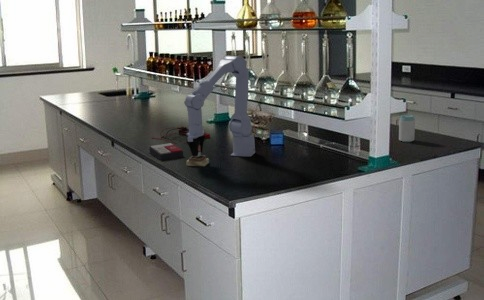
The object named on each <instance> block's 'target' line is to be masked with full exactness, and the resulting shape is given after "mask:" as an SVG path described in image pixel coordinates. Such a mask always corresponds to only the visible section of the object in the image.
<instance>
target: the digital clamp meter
mask: <svg viewBox="0 0 484 300" xmlns="http://www.w3.org/2000/svg"><path fill="white" fill-rule="evenodd" d="M168 129H170V127H166V128H164V129H162V130H161V132H160V137H159V138H157V137H151V140H162V141H166V142H167V141H169V142H172V143H173V144H174V145H177V144H178V143H176V141H173V140H176V139H177V140H178V141H179V142H180V143H182V142H183V141H181V140H180V138H178V136H174V137H173V138H171V139H170V138H168V137H169V136H172V135H176V134H178V135H180V134H181V136H184V137H188V136H189V135H187V133H189V128H188V127H185V126H180V127H179V126H178V127H176V128H171V129H170V130H168ZM165 130H168V131H167V132H166V134H165V136H166V137H165V136H162V133H163V132H164V131H165ZM174 130H175V131H176V130H178V132H175V133H172V134H168V133H169V132H170V131H174ZM203 136H206V139H207V140H208V139H210V138H211V134H210V133H206V132H205V131H204V135H203ZM175 138H176V139H175ZM206 139H205V140H206ZM184 144H187V141H185V142H183V143H182V145H184Z"/></svg>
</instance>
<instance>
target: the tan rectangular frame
mask: <svg viewBox="0 0 484 300" xmlns="http://www.w3.org/2000/svg"><path fill="white" fill-rule="evenodd" d="M209 163H210V159H209V158H208V157H207V155H206V154H205V155H202V154H201V158H194V156H192V155H191V156H190V157H189V158H188V159H187V160H186V163H185V164H186V166H188V167H206V166H207V165H208V164H209Z"/></svg>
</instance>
